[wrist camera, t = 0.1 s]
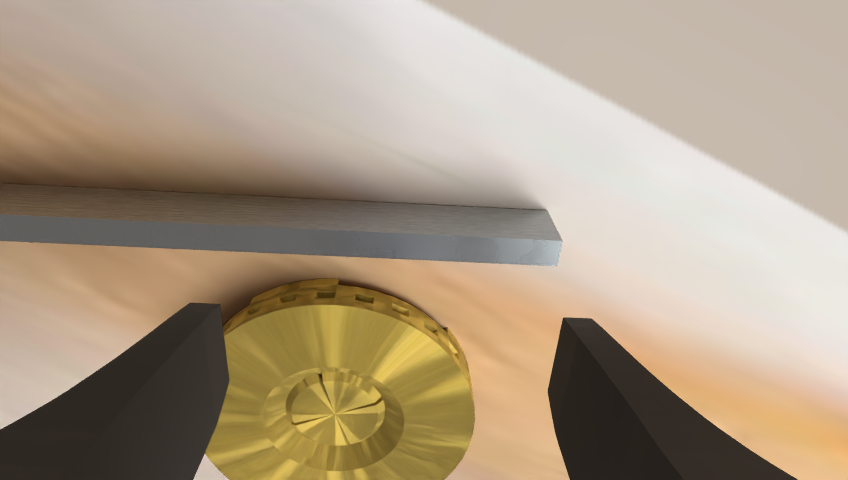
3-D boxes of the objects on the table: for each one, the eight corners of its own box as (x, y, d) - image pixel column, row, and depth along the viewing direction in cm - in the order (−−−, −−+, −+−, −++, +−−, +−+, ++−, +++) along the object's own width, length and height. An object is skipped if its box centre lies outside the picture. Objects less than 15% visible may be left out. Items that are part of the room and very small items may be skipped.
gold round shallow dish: (170, 425, 27) (152, 463, 25) (265, 227, 22) (251, 255, 20) (394, 504, 30) (393, 543, 28) (520, 344, 25) (529, 378, 23)
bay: (489, 532, 31) (504, 647, 26) (-66, 518, 29) (-164, 637, 24) (547, 210, 22) (587, 290, 17) (-243, 170, 20) (-454, 245, 15)
